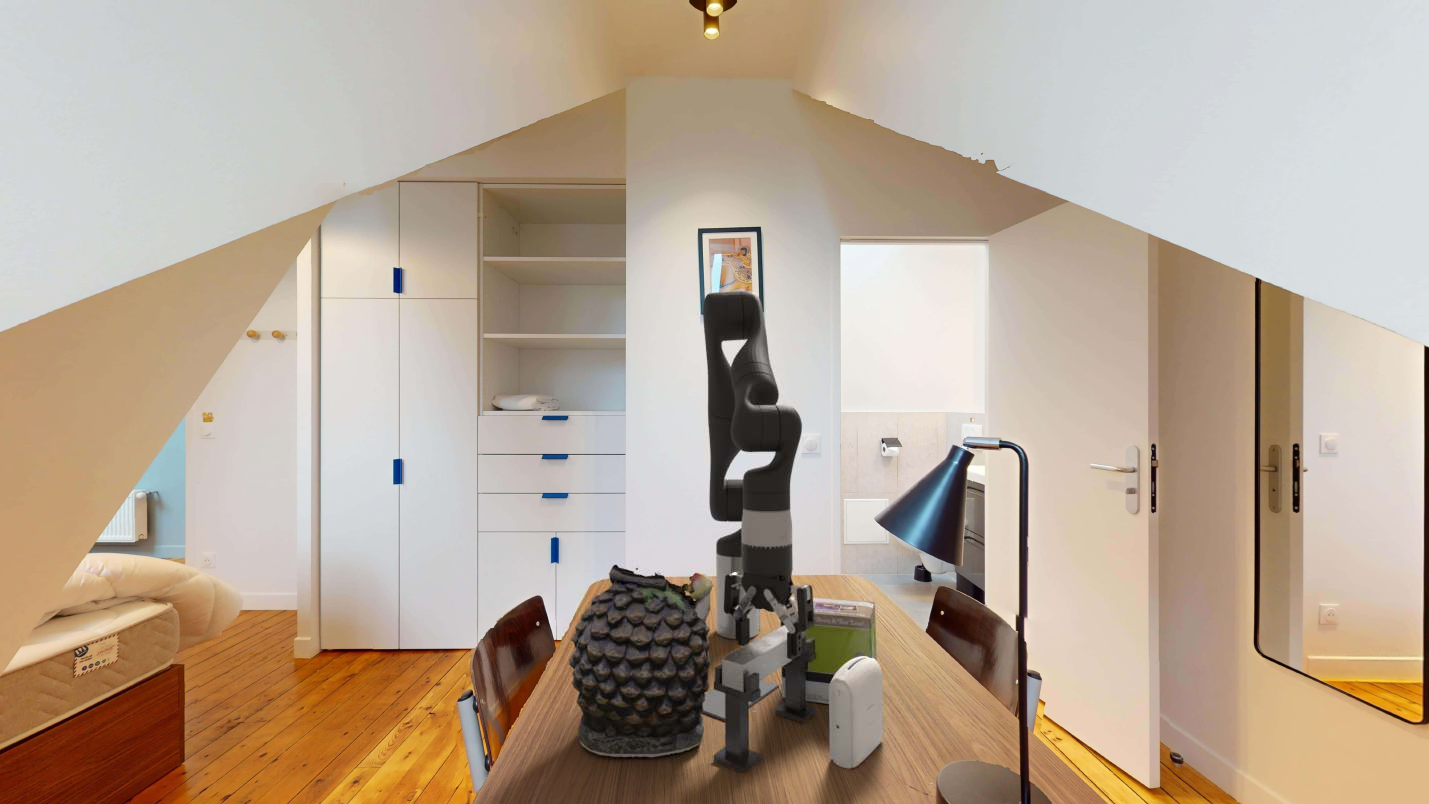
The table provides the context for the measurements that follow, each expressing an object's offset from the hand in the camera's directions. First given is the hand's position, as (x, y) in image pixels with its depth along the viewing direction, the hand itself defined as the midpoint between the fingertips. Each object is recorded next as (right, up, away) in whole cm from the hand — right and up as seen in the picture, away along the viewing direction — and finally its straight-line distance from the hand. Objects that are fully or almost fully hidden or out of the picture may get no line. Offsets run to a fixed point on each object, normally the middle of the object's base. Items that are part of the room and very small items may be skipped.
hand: (767, 650), depth 86 cm
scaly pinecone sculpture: (-18, -13, -1) cm, 22 cm away
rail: (0, -2, 0) cm, 2 cm away
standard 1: (-5, -12, -7) cm, 15 cm away
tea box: (+12, -13, +13) cm, 22 cm away
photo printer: (+12, -12, -4) cm, 18 cm away
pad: (-4, -13, +12) cm, 18 cm away
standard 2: (+5, -13, +6) cm, 15 cm away
